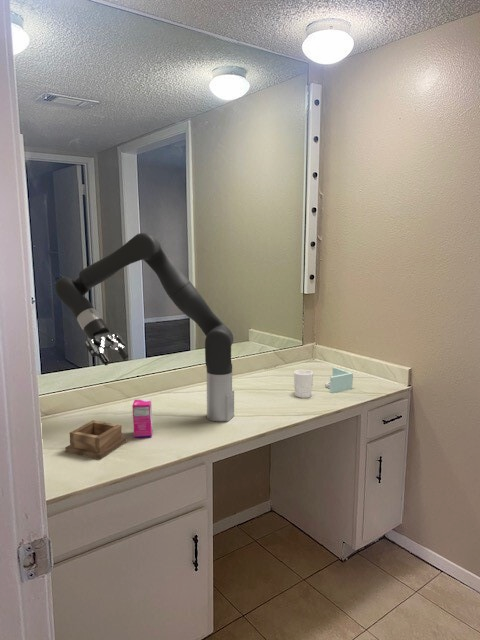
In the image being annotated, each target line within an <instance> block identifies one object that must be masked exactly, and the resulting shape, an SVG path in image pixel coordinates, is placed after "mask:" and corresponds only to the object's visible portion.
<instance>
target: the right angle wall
mask: <svg viewBox="0 0 480 640" xmlns="http://www.w3.org/2000/svg"><path fill="white" fill-rule="evenodd" d="M331 373H332V376H330V379H329V380H330V381H328V382H325V383H324V386H325V388H326V387H328V389H329V393H330V394H334V392H335V393H339V392H344V391H348V390H347V389H349V390H352V389H353V380H354V373H352V372H350V371H347V370H343V369H341V368H338V367H336V366H333V367H332V372H331ZM351 388H352V389H351ZM343 390H344V391H343Z"/></svg>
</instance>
